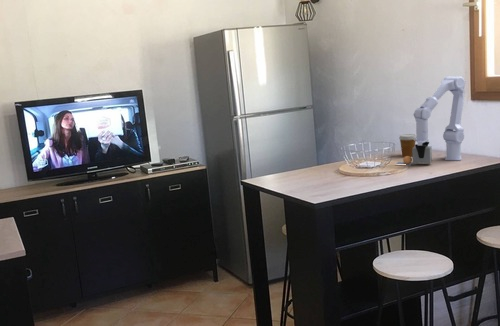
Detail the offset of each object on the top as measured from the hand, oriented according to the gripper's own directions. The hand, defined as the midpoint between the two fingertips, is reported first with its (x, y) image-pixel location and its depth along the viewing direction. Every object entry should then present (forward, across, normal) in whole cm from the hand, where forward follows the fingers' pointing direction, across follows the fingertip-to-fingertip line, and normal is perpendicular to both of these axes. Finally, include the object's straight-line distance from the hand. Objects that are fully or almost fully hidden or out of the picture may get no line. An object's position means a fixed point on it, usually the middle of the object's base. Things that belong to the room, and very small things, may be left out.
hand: (422, 156), depth 279 cm
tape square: (+4, 0, -9) cm, 10 cm away
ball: (+2, 0, -8) cm, 8 cm away
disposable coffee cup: (+4, -22, -11) cm, 25 cm away
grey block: (+3, 0, 0) cm, 3 cm away
